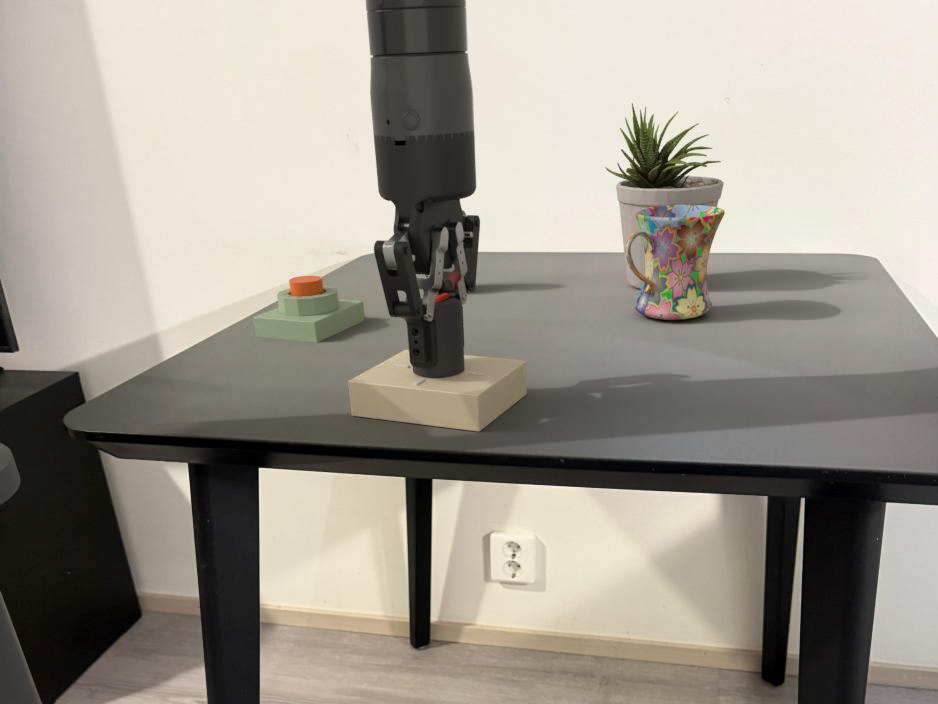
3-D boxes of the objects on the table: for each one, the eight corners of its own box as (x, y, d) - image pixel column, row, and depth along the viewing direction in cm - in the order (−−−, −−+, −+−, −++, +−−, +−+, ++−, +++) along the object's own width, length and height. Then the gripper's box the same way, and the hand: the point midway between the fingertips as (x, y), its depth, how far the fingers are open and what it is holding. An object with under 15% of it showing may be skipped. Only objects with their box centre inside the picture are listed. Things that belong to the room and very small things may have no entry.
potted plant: (643, 269, 124) (652, 97, 113) (733, 281, 116) (752, 97, 105) (584, 286, 117) (588, 104, 106) (676, 300, 109) (690, 104, 98)
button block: (317, 343, 99) (312, 304, 96) (256, 337, 102) (250, 299, 99) (365, 320, 106) (361, 284, 104) (307, 316, 109) (302, 280, 107)
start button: (312, 300, 100) (310, 283, 99) (284, 298, 101) (282, 281, 100) (330, 293, 103) (328, 276, 102) (303, 291, 104) (301, 274, 103)
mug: (672, 300, 109) (679, 201, 103) (732, 314, 102) (743, 210, 96) (594, 318, 103) (597, 215, 97) (653, 334, 96) (659, 224, 91)
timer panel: (479, 432, 74) (477, 393, 72) (351, 416, 78) (347, 379, 77) (527, 394, 81) (526, 358, 80) (407, 381, 86) (405, 347, 84)
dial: (450, 379, 76) (446, 306, 73) (403, 374, 77) (397, 303, 74) (473, 365, 79) (470, 294, 76) (427, 360, 81) (423, 291, 78)
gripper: (423, 120, 75) (437, 333, 84) (328, 135, 64) (355, 378, 74) (508, 119, 72) (512, 340, 82) (423, 135, 62) (439, 387, 71)
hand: (437, 357), depth 78 cm, fingers closed on dial, 4 cm apart
